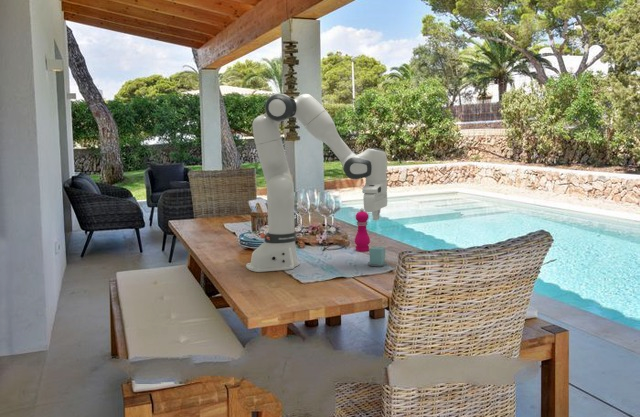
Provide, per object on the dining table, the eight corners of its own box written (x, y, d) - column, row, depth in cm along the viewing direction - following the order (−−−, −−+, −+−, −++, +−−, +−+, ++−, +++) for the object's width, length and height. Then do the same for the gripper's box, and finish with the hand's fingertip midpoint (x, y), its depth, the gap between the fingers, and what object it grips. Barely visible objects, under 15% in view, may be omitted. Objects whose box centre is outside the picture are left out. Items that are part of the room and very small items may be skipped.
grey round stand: (383, 267, 244) (383, 254, 243) (365, 266, 247) (365, 252, 247) (389, 263, 251) (389, 250, 251) (371, 261, 255) (371, 249, 254)
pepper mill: (369, 252, 274) (368, 209, 271) (353, 251, 275) (353, 209, 273) (370, 248, 281) (370, 207, 278) (355, 248, 282) (355, 206, 280)
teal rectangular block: (381, 265, 246) (381, 249, 245) (369, 264, 248) (369, 248, 247) (385, 262, 251) (385, 247, 250) (373, 261, 253) (373, 246, 252)
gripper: (377, 184, 256) (376, 215, 258) (360, 189, 237) (360, 223, 239) (391, 184, 253) (390, 216, 255) (375, 189, 235) (375, 224, 237)
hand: (376, 220), depth 247 cm, fingers closed
